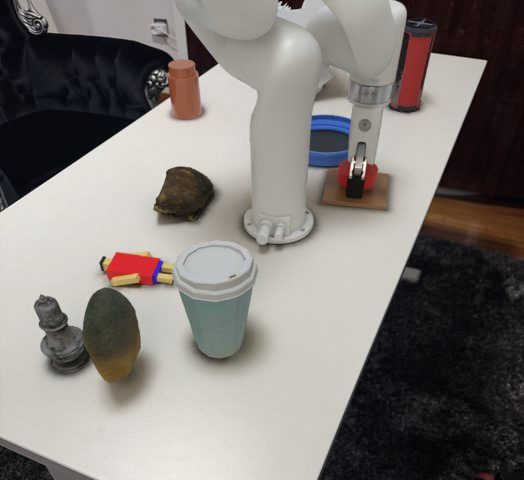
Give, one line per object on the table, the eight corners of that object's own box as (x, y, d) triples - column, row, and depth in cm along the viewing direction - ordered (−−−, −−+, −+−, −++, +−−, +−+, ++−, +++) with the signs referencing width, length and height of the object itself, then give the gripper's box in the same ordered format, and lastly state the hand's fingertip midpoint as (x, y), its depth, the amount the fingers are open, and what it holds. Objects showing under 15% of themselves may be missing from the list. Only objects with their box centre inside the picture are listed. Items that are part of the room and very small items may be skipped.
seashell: (181, 177, 100) (184, 145, 94) (221, 193, 99) (227, 163, 94) (141, 220, 90) (142, 187, 84) (186, 239, 89) (190, 207, 84)
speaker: (413, 115, 119) (431, 29, 105) (383, 108, 121) (397, 24, 108) (424, 103, 123) (443, 20, 109) (395, 97, 126) (410, 14, 112)
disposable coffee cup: (171, 335, 71) (153, 251, 60) (233, 305, 75) (227, 221, 64) (208, 382, 66) (196, 299, 54) (274, 347, 70) (275, 263, 58)
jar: (197, 120, 118) (192, 70, 110) (168, 118, 119) (161, 68, 111) (205, 108, 123) (200, 59, 114) (177, 105, 124) (171, 57, 115)
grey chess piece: (88, 373, 67) (60, 309, 58) (44, 376, 67) (9, 313, 58) (95, 341, 71) (69, 277, 62) (53, 344, 71) (22, 280, 62)
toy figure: (179, 255, 81) (108, 245, 81) (167, 282, 76) (92, 271, 77) (180, 267, 83) (111, 257, 83) (169, 294, 78) (96, 283, 79)
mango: (117, 349, 70) (88, 266, 58) (159, 354, 69) (137, 271, 58) (90, 405, 63) (52, 323, 52) (135, 411, 63) (106, 330, 51)
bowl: (328, 122, 117) (329, 107, 114) (383, 151, 107) (386, 135, 104) (266, 144, 110) (266, 128, 107) (319, 178, 100) (321, 161, 97)
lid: (338, 168, 98) (340, 156, 96) (376, 172, 97) (379, 160, 95) (335, 188, 93) (336, 175, 91) (375, 192, 92) (377, 179, 90)
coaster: (385, 210, 92) (386, 206, 92) (321, 203, 94) (322, 200, 93) (387, 177, 100) (388, 173, 99) (328, 171, 102) (328, 168, 101)
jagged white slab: (271, 104, 117) (263, -26, 105) (257, 102, 131) (249, -14, 118) (352, 97, 120) (353, -31, 108) (330, 95, 134) (329, -18, 122)
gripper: (391, 113, 77) (372, 212, 90) (393, 72, 88) (376, 166, 101) (343, 109, 78) (331, 208, 91) (351, 69, 89) (339, 162, 102)
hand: (355, 185), depth 96 cm, fingers closed on lid, 7 cm apart
